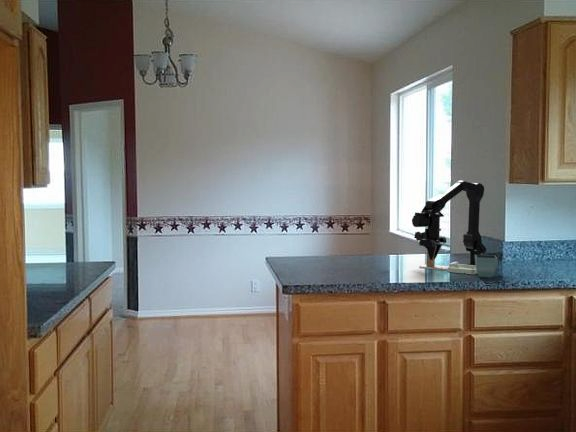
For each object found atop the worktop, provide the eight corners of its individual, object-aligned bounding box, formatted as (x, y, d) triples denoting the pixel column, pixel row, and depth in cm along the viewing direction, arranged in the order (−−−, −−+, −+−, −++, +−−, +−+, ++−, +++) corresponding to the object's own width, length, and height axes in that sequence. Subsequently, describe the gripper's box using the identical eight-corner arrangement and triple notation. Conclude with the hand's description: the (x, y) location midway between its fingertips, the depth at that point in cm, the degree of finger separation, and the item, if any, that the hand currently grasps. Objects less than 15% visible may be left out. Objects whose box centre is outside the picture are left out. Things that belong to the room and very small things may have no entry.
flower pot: (497, 278, 268) (497, 258, 268) (475, 278, 270) (476, 257, 269) (494, 275, 277) (495, 255, 276) (473, 274, 279) (474, 254, 278)
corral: (458, 268, 297) (458, 263, 296) (483, 270, 290) (483, 266, 289) (447, 271, 286) (447, 267, 286) (473, 274, 279) (473, 270, 279)
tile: (457, 270, 294) (458, 267, 293) (472, 271, 290) (472, 268, 289) (452, 272, 288) (452, 269, 288) (467, 273, 284) (467, 270, 284)
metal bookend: (419, 268, 297) (419, 251, 296) (425, 266, 303) (426, 249, 303) (451, 271, 287) (452, 254, 287) (458, 269, 294) (458, 252, 293)
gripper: (425, 224, 308) (424, 255, 309) (409, 226, 293) (408, 260, 294) (447, 225, 301) (446, 257, 303) (431, 228, 286) (431, 262, 287)
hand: (432, 259), depth 297 cm, fingers open, 3 cm apart
